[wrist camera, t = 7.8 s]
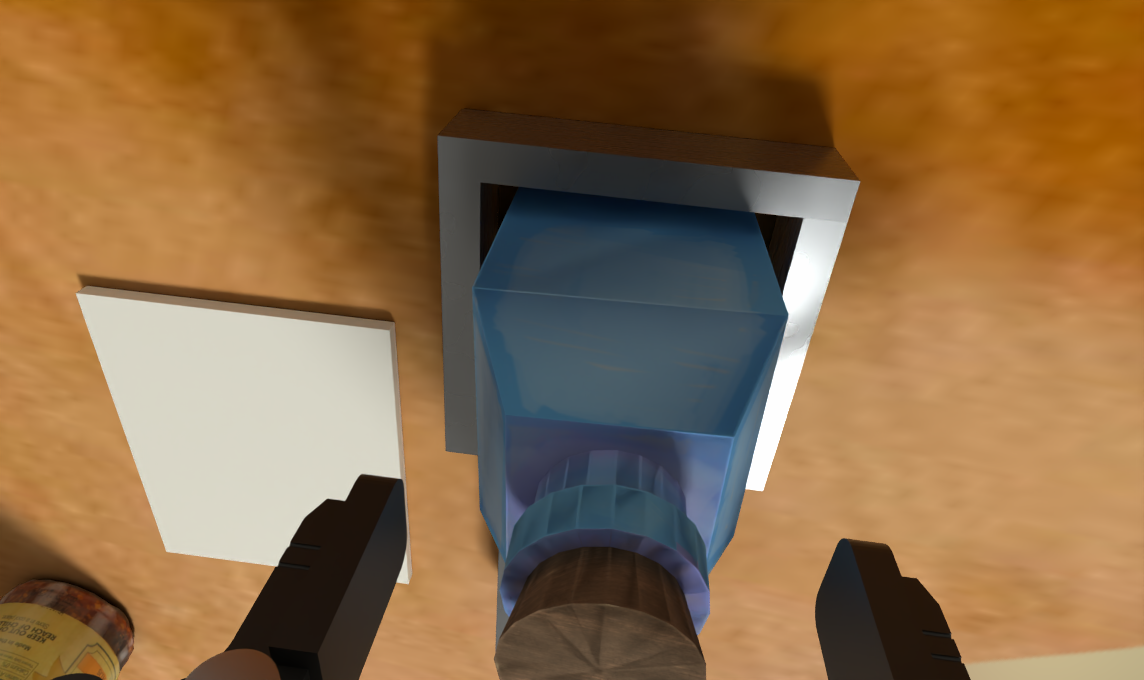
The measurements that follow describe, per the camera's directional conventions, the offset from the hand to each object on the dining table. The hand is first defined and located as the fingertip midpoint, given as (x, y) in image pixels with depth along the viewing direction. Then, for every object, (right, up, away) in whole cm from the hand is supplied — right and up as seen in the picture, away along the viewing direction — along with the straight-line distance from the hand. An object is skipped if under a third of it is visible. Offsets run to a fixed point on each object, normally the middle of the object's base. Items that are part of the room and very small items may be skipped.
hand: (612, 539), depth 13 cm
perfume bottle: (+1, +5, +8) cm, 9 cm away
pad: (-12, 0, +12) cm, 17 cm away
